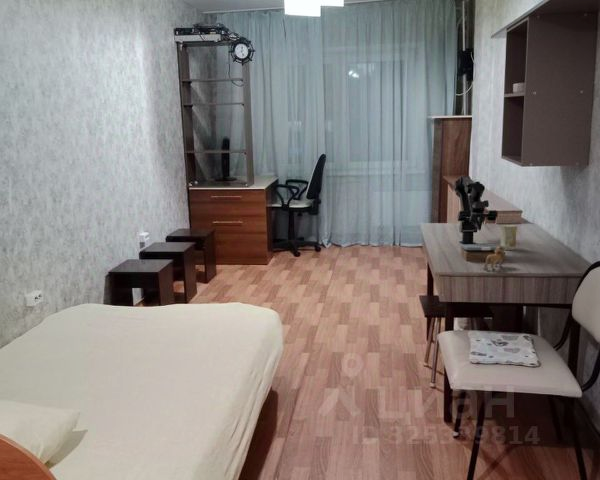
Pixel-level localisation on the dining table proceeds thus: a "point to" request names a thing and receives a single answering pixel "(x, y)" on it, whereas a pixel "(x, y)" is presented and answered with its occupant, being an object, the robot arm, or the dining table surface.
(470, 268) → the dining table surface
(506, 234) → the skincare box
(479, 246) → the lid
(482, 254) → the walnut box
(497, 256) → the lion figurine
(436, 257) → the dining table surface
